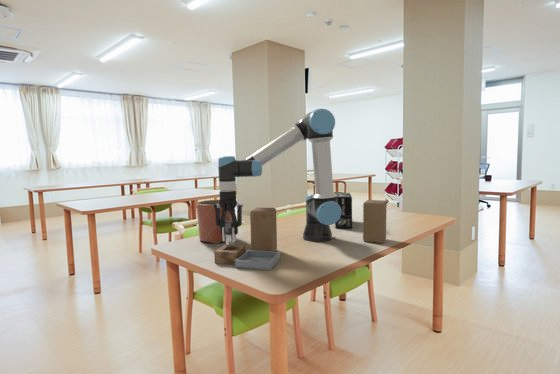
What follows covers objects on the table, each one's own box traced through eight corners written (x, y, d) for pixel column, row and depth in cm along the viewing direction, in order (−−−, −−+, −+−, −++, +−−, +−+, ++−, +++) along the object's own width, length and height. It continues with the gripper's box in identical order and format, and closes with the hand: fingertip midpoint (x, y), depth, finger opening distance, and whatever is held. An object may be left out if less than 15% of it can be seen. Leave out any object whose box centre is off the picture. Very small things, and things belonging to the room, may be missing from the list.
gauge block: (245, 257, 145) (245, 245, 144) (237, 264, 135) (236, 252, 135) (224, 255, 147) (224, 244, 147) (214, 263, 138) (214, 251, 137)
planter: (217, 246, 163) (216, 205, 161) (190, 241, 173) (188, 203, 171) (242, 237, 179) (240, 200, 177) (215, 233, 189) (214, 198, 187)
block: (386, 239, 170) (386, 200, 168) (383, 244, 161) (384, 203, 159) (366, 237, 174) (366, 199, 172) (362, 242, 165) (362, 202, 163)
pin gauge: (235, 250, 155) (234, 221, 153) (232, 253, 151) (231, 223, 149) (227, 250, 156) (226, 220, 154) (223, 252, 152) (222, 222, 150)
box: (334, 220, 218) (334, 192, 216) (349, 221, 217) (350, 192, 215) (335, 228, 195) (334, 196, 193) (352, 229, 194) (352, 196, 192)
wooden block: (272, 256, 145) (271, 211, 143) (250, 255, 147) (249, 210, 145) (277, 249, 155) (276, 207, 153) (256, 249, 157) (255, 207, 155)
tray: (280, 258, 142) (280, 251, 142) (270, 270, 128) (270, 262, 127) (248, 256, 145) (247, 249, 145) (235, 267, 131) (235, 260, 131)
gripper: (248, 189, 152) (250, 239, 154) (213, 189, 156) (215, 238, 158) (242, 191, 145) (244, 244, 147) (206, 191, 149) (208, 242, 151)
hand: (229, 240), depth 153 cm, fingers closed on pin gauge, 4 cm apart
